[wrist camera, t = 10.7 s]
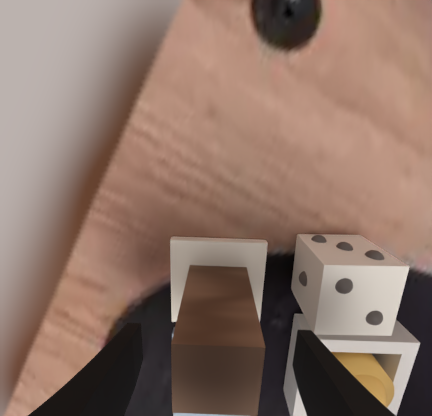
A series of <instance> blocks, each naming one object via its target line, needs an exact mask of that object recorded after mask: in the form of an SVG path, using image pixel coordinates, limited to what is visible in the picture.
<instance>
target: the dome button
mask: <svg viewBox="0 0 432 416" xmlns="http://www.w3.org/2000/svg"><path fill="white" fill-rule="evenodd" d="M331 353H332V354H333V355H334V356H335V357H336V358H337V359H338V360H339V361H340V362H341V363H342V364H343V365H344V367H345V368H346V369H347V370H348V371H349V372H350V373H351V374H352V375H353V376H354V377H355V378H356V379H357V380H358V381H359V382H360V383H361V384H362V385H363V386H364V387H365V388H366V389H367V390H368V391H369V392H370V393H372V394H373V395H374V396H375V397H376V398H377V399H378V400H379V401H380V402H381V403H382V404H383V405H384V406H385V407H386V408H387V407H388V406H389V404H390V403H391V401H392V399H393V397H394V391H395V390H394V385H393V382H392V380H391V379H390V378H389V376H388V375H387V374H386V372H385V371H384V369H383V368H382V367H381V365H380V364H379V363H378V361H377V360H376V359H375V357H374V356H373V355H372V353H351V352H331Z"/></svg>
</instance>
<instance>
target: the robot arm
mask: <svg viewBox="0 0 432 416" xmlns="http://www.w3.org/2000/svg"><path fill="white" fill-rule="evenodd" d="M142 360H143V354H142V337H141V324H139V323H127V324H126V325H125V326H124V327H123V328H122V329H121V330H120V331H119V332H118V333H117V334H116V335H115V336H114V337H113V338H112V340H111V341H110V342H109V343H108V344H107V345H106V346H105V347H104V348H103V349H102V350H101V351H100V352H99V353H98V354H97V355H96V356H95V357H94V358H93V359H92V360H91V361H90V362H89V363H88V364H87V365H86V366H85V367H84V368H83V369H82V370H81V371H79V372H78V373H77V374H76V375H75V376H74V377H73V378H72V379H71V380H70V381H69V382H68V383H66V384H65V385H64V386H63V387H62V388H61V389H60V390H59V391H57V392H56V393H55V394H54V395H53V396H52V397H50V398H49V399H48V400H47V401H46V402H44V403H43V404H42V405H41V406H39V407H38V408H37V409H36V410H35V411H33V412H32V413H31V414H29V415H28V416H124V414H125V412H126V409H127V407H128V404H129V401H130V399H131V396H132V394H133V391H134V388H135V386H136V382H137V379H138V375H139V372H140V368H141V364H142ZM292 366H293V370H294V375H295V379H296V383H297V387H298V391H299V394H300V397H301V400H302V403H303V405H304V408H305V411H306V414H307V416H396V415H394V414H393V413H392V412H391V411H390V410H389V409H388V408H386V407H385V406H384V405H383V404H382V403H381V402H380V401H379V400H378V399H377V398H376V397H375V396H374V395H373V394H372V393H370V392H369V391H368V390H367V389H366V388H365V387H364V386H363V385H362V384H361V383H360V382H359V381H358V380H357V379H356V378H355V377H354V376H353V375H352V374H351V373H350V372H349V371H348V370H347V369H346V368H345V367H344V365H343V364H342V363H341V362H340V361H339V360H338V359H337V358H336V357H335V356H334V355H333V354H332V353H331V351H330V350H329V349H328V348H327V347H326V346H325V345H324V344H323V343H322V342H321V340H320V339H319V338H318V337H317V336H316V335H315V334H314V333H313V332H312V331H311V330H298V331H297V337H296V344H295V351H294V357H293V364H292Z"/></svg>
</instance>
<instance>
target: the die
mask: <svg viewBox="0 0 432 416" xmlns="http://www.w3.org/2000/svg"><path fill="white" fill-rule="evenodd" d="M409 267H410V266H408V265H407V264H405V263H403V262H402V261H400V260H399V259H397V258H396V257H394V256H392V255H391V254H389V253H388V252H386V251H385V250H383V249H381V248H380V247H378V246H377V245H375V244H374V243H372V242H371V241H369V240H367V239H366V238H364V237H363V236H361V235H333V234H297V239H296V248H295V257H294V266H293V275H292V284H291V290H292V292H293V294H294V296H295V298H296V300H297V302H298V304H299V306H300V308H301V310H302V312H303V314H304V316H305V318H306V320H307V322H308V324H309V326H310V328H311V330H312V332H313V333H314V334H315V335H373V336H392V332H393V328H394V324H395V320H396V317H397V313H398V309H399V305H400V301H401V297H402V294H403V290H404V286H405V282H406V278H407V274H408V271H409Z"/></svg>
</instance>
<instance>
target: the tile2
mask: <svg viewBox="0 0 432 416" xmlns="http://www.w3.org/2000/svg"><path fill="white" fill-rule="evenodd" d="M267 246H268V243H267V241H266V240H261V239H233V238H204V237H176V236H172V237H171V239H170V263H171V314H172V322H176V321H177V317H178V313H179V309H180V304H181V300H182V296H183V292H184V287H185V283H186V279H187V275H188V270H189V266H190V265H203V266H228V267H247V271H248V275H249V280H250V284H251V288H252V292H253V297H254V301H255V305H256V309H257V314H258V318H259V322H260V315H261V305H262V295H263V285H264V276H265V266H266V256H267Z"/></svg>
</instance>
